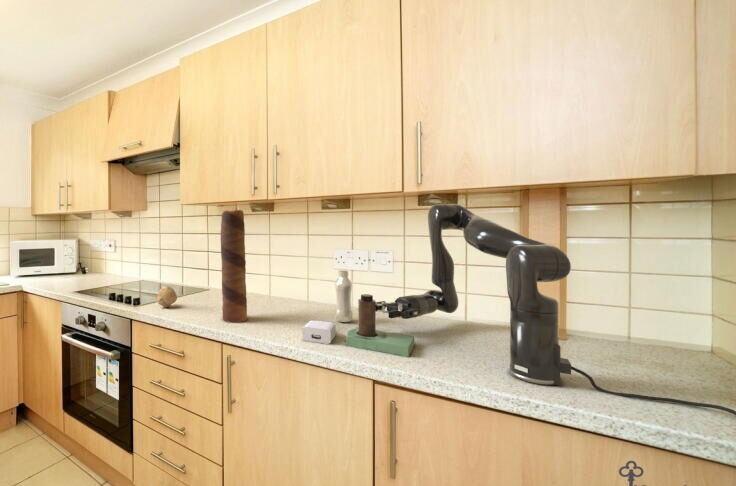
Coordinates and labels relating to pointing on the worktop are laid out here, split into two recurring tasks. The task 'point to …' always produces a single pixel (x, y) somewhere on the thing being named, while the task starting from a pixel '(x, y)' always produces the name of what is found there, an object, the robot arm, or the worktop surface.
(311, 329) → the charger
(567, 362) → the robot arm
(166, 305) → the natural sponge
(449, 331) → the worktop surface
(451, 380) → the worktop surface
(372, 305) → the pepper mill
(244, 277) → the wafer roll
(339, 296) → the plastic bottle
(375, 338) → the board
